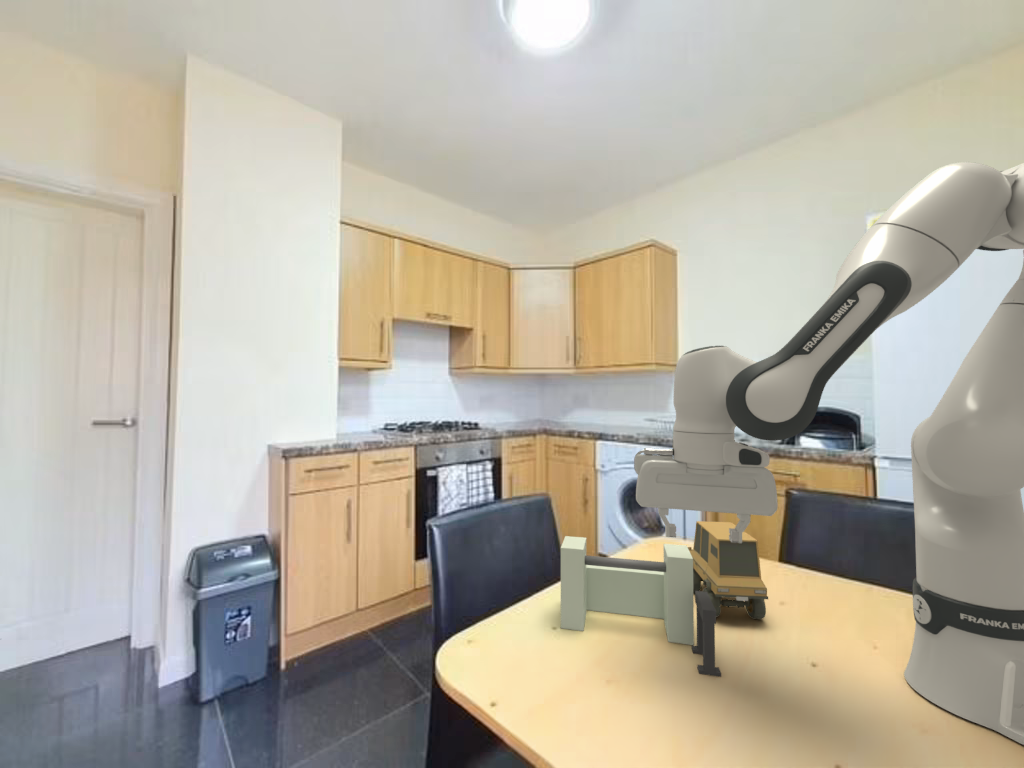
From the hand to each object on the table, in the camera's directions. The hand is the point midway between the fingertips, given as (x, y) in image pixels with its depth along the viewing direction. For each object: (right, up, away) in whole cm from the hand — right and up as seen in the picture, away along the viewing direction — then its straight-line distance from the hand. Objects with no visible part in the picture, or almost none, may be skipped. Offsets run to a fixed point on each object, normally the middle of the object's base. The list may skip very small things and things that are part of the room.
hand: (702, 539), depth 69 cm
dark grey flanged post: (0, -19, -1) cm, 19 cm away
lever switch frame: (-9, -19, +11) cm, 24 cm away
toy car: (+12, -20, +19) cm, 30 cm away
